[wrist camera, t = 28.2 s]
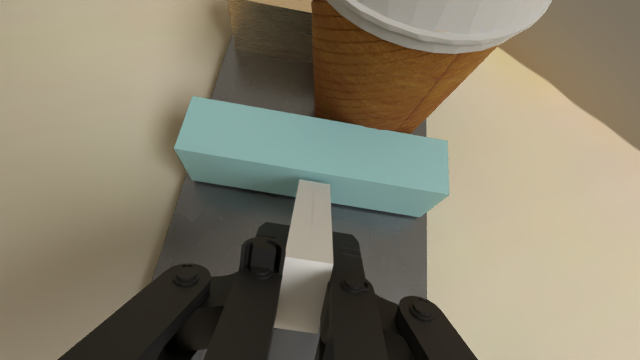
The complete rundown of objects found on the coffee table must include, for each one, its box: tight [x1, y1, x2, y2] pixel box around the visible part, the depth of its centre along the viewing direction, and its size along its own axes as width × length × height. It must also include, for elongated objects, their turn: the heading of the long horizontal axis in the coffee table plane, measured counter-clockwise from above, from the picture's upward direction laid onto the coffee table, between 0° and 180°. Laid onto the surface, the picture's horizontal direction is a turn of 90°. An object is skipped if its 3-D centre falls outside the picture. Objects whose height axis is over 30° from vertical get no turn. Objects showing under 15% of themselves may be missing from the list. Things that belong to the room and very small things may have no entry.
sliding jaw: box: [174, 96, 449, 217], centre depth 18 cm, size 3×13×4 cm, turn 83°
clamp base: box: [151, 0, 427, 360], centre depth 19 cm, size 25×14×5 cm, turn 172°
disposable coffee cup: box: [311, 0, 552, 134], centre depth 17 cm, size 10×10×12 cm
